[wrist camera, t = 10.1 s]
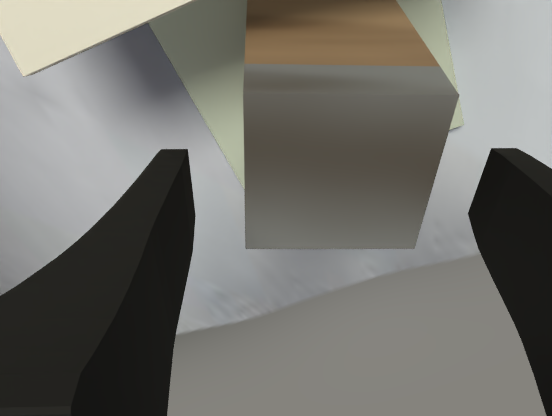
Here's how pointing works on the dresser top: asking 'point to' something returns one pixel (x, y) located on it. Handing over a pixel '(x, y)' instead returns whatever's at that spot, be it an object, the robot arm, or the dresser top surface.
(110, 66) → the dresser top surface
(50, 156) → the dresser top surface
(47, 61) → the carton
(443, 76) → the walnut block
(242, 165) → the mat
